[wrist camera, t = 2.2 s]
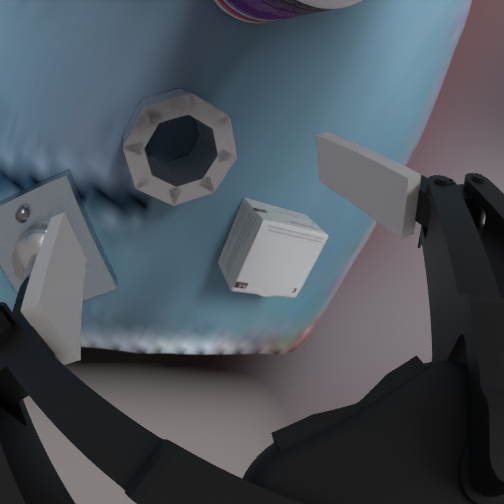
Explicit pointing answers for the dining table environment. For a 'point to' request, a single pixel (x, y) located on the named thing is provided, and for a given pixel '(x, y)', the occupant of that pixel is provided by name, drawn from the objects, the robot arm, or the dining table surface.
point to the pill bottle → (278, 8)
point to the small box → (270, 250)
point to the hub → (185, 168)
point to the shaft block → (35, 225)
